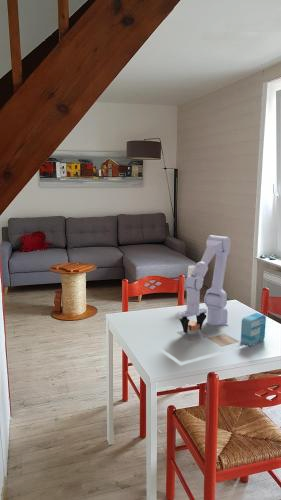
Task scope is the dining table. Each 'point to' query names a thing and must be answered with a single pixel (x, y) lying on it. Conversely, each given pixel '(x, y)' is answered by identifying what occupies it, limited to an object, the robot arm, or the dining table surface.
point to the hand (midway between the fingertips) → (192, 330)
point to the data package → (253, 329)
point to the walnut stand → (223, 339)
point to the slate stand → (192, 336)
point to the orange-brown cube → (193, 328)
